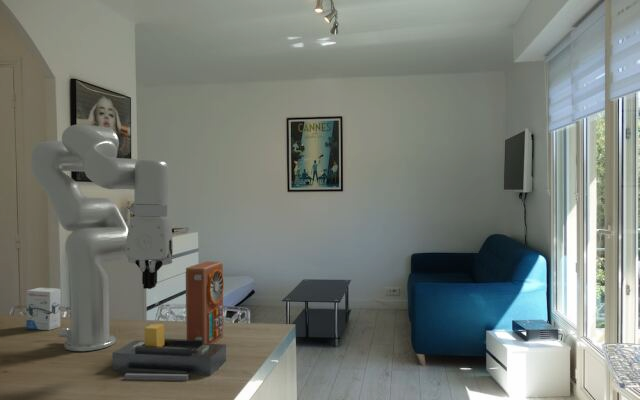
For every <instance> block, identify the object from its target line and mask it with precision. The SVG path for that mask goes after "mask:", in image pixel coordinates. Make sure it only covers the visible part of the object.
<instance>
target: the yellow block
mask: <svg viewBox="0 0 640 400" xmlns="http://www.w3.org/2000/svg"><path fill="white" fill-rule="evenodd" d="M164 338H165V324H164V323H151V324H149V325H148V326H145V328H144V341H145V346H159V347H162V346H163V345H165V340H164Z"/></svg>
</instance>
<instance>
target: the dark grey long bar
mask: <svg viewBox="0 0 640 400" xmlns="http://www.w3.org/2000/svg"><path fill="white" fill-rule="evenodd" d="M117 372H118V373H117V374H118V375H122V376H125V374H126V373H134V374H187V371H176V370H158V369H140V368H122V367H121V368H120V369H118V370H117Z"/></svg>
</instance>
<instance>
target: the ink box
mask: <svg viewBox="0 0 640 400" xmlns="http://www.w3.org/2000/svg"><path fill="white" fill-rule="evenodd" d="M61 293H62V292H61V289H60V288H55V287H53V288H52V287H37V288H32V289H28V290H26V316H25V317H26V319H25V320H26V324H25V325H26V326H25V327H26V328H25V329H30V330H41V331H42V330H43V331H51V330H53V329H56V328H60V327H61V302H62V301H61V300H62V299H61V297H62V296H61Z"/></svg>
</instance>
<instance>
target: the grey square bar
mask: <svg viewBox="0 0 640 400" xmlns="http://www.w3.org/2000/svg"><path fill="white" fill-rule="evenodd" d="M124 380H127V381H128V380H129V381H130V380H131V381H132V380H133V381H134V380H135V381H137V380H138V381H139V380H140V381H141V380H142V381H182V382H183V381H188V380H189V374H134V373H126V374H125V375H124Z"/></svg>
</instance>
